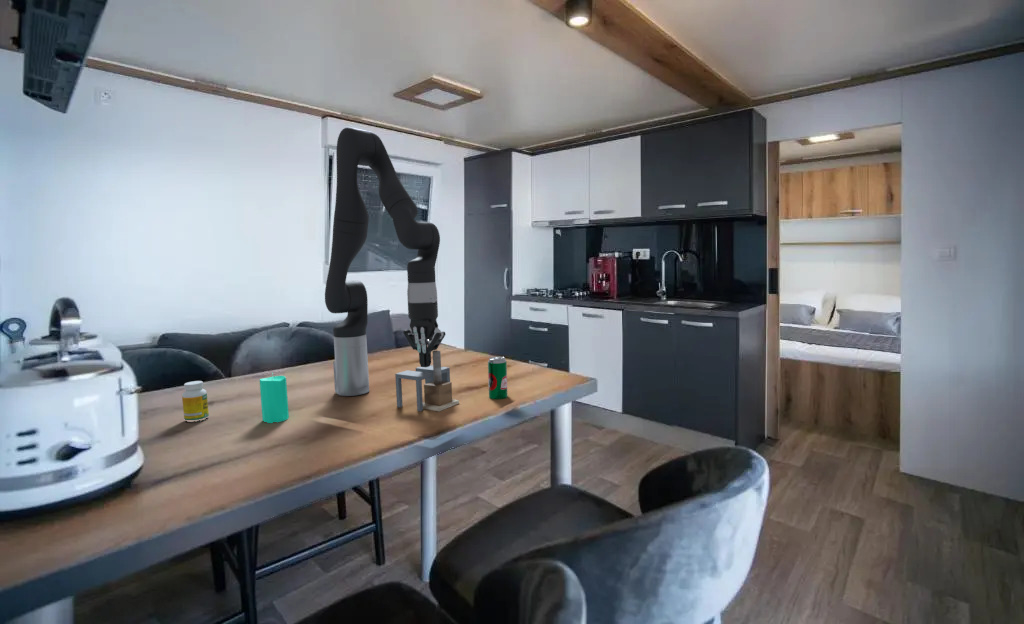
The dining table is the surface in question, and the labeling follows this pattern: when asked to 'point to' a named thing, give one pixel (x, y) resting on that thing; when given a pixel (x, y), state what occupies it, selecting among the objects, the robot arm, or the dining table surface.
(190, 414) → the supplement bottle
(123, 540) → the dining table surface
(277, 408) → the candle
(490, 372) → the soda can
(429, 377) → the grey table frame
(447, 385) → the stepped block tower
